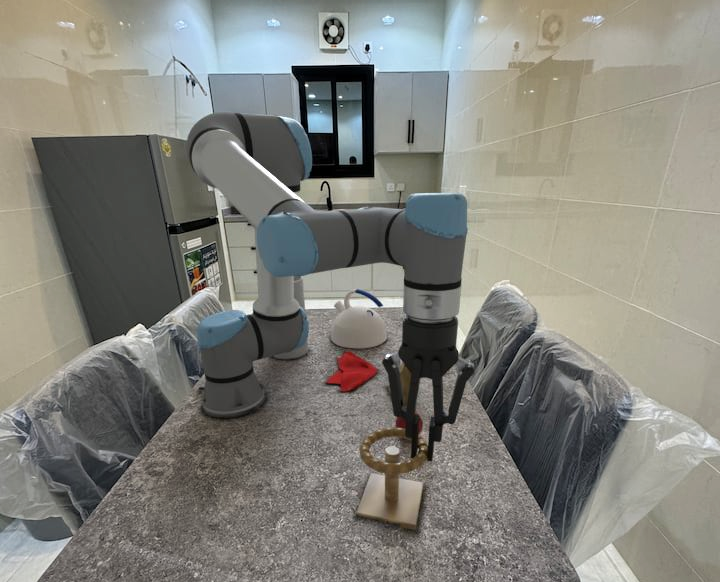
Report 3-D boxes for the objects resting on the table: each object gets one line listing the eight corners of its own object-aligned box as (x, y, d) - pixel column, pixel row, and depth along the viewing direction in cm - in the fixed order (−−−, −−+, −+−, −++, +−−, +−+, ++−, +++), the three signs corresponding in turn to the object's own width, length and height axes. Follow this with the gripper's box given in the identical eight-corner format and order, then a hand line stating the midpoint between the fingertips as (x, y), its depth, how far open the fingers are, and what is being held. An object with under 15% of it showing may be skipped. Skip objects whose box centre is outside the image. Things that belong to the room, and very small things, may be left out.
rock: (422, 403, 93) (428, 380, 101) (401, 377, 91) (409, 355, 99) (388, 418, 99) (396, 395, 107) (367, 394, 97) (378, 372, 105)
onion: (404, 449, 81) (405, 417, 78) (390, 435, 85) (390, 404, 82) (427, 441, 83) (429, 410, 80) (411, 427, 88) (413, 397, 85)
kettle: (352, 324, 153) (351, 280, 145) (397, 335, 141) (398, 287, 134) (318, 340, 138) (315, 291, 130) (365, 353, 126) (365, 300, 119)
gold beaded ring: (350, 470, 60) (350, 461, 59) (370, 430, 70) (370, 422, 69) (422, 481, 57) (422, 473, 56) (432, 438, 66) (432, 430, 66)
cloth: (370, 393, 102) (370, 386, 101) (321, 390, 104) (320, 383, 104) (381, 354, 126) (381, 348, 125) (340, 352, 128) (340, 346, 127)
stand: (356, 518, 64) (354, 465, 60) (370, 477, 73) (370, 428, 69) (415, 530, 62) (418, 476, 57) (423, 487, 71) (426, 437, 66)
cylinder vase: (314, 354, 127) (309, 279, 117) (279, 363, 121) (271, 285, 110) (298, 342, 136) (292, 272, 126) (264, 350, 130) (255, 277, 120)
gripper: (370, 319, 51) (371, 461, 60) (488, 328, 47) (469, 478, 57) (383, 304, 58) (382, 434, 67) (486, 310, 54) (470, 447, 63)
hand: (422, 454), depth 62 cm, fingers closed on gold beaded ring, 2 cm apart
